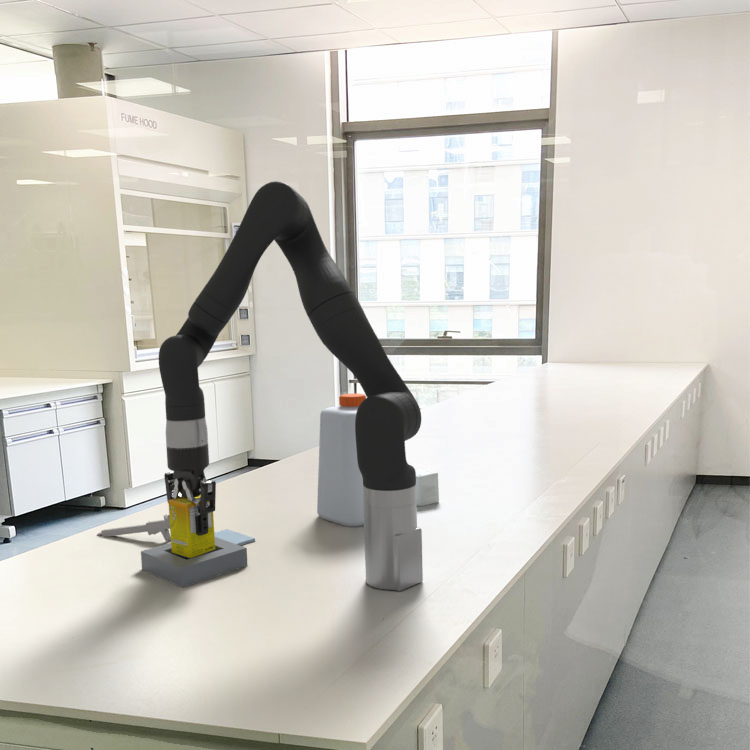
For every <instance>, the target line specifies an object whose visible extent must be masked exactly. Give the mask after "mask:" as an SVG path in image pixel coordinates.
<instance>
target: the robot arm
mask: <svg viewBox="0 0 750 750" xmlns="http://www.w3.org/2000/svg"><path fill="white" fill-rule="evenodd" d="M274 241H275V244H276V245H277V246H278V247H279V248H280V250H281V252H282V253H283V255H284V257H285V258H286V260H287V262H288V263H289V265H290V267H291V270H292V271H293V273H294V277H295V279H296V284H297V289H298V293H299V296H300V301H301V303H302V306H303V309H304V311H305V313H306V315H307V317H308V320H309V321H310V324H311V325H312V327H313V329H314V331H315V333H316V335H317V336H318V338H319V340H320V341H321V342H322V344H323V346H325V347H326V349H327V350H328V351H329V352H330V353H331V354H332V355H333V356H334V357H335V358H336V359H337V360H339V362H340V363H341V364H343V365H344V366H345V367H346V368H347V369H348V370H349V372H351V374H353V376H354V377H355V378H356V380H357V382H358V383H359V384H360V386H361V388H362V390H363V392H364V395H365V396H366V399H365V400H363V401H362V402H361V404H360V405H359V407H358V410H357V413H356V418H355V436H356V449H357V461H358V467H359V470H360V472H361V474H362V477H363V501H364V502H363V504H364V525H363V527H364V528H363V533H364V535H363V536H364V561H365V562H364V563H365V568H364V569H365V582H366V584H367V585H368V586H370V587H373V588H376V589H378V590H379V589H380V590H386V591H387V590H388V591H389V590H393V591H399V592H401V591H404V590H406V589H408V588H410V587H412V586H413V587H414V586H415V585H417V584H419V583H422V582H423V581H424V580H423V579H424V578H423V577H424V573H423V571H424V570H423V532H422V531H423V530H422V528H420V527H418V514H417V513H418V511H417V506H418V505H416V471H415V470H416V469H415V468H414V466H412V465H411V464H409V463H408V461H407V455H406V441H408V440H410V439H412V438H413V437H415V436H416V435H417V434H418V432H419V431H420V428H421V425H422V412H421V408H420V405H419V403H418V401H417V400H416V398H415V397H414V395H413V393H412V392H411V390H410V389H409V387H408V386H407V383H405V381H404V380H403V378H402V377H401V376H400V374H399V373H398V371H397V369H396V368H395V367H394V365H393V364H392V362H391V360H390V358H389V357H388V356H387V353H386V351H385V349H384V347H383V345H382V343H381V341H380V340H379V338H378V336H377V334H376V333H375V332H376V331H374V329H373V327H372V325H371V323H370V321H369V319H368V317H367V315H366V312H365V311H364V309H363V307H362V305H361V304H360V302H359V299H358V298H357V295H356V294H355V291H354V290H353V289H352V287H351V286H350V284H349V282H348V280H347V279H346V277H345V275H344V274H343V273H342V270H341V269H340V267H339V266H338V265H337V263H336V262H335V260H334V259H333V258H332V256H331V255H330V253H329V251H328V249H327V247H326V245H325V243H324V241H323V239H322V235H321V233H320V230H319V229H318V226H317V224H316V221H315V219H314V216H313V213H312V211H311V209H310V205H309V204H308V202H307V201H306V199H305V198H304V197H303V196H301V194H300V193H299V192H298V191H297V190H295V188H294V187H292V186H291V185H290V184H288V183H286V182H283V181H278V180H277V181H276V180H275V181H270V182H268V183H265V184H263V185H262V186H261V187H260V188H259V189H257V191H256V192H255V194H254V195H253V197H252V199H251V201H250V202H249V205H248V207H247V208H246V211H245V213H244V215H243V218H242V220H241V222H240V224H239V226H238V228H237V231H236V232H235V234H234V235H233V238H232V240H231V242H230V245H229V246H228V247H227V250H226V252H225V253H224V255H223V257H222V259H221V260H220V263H219V264H218V265H217V266H216V267H217V268H216V269H215V270H214V272H213V273H212V275H211V277H210V278H209V280H208V281H207V283H206V284H205V286H204V287H203V288H202V290H201V292H200V293H199V294H198V296H196V298H195V300H194V302H193V303H192V304H191V306H190V308H189V311H188V313H187V314H188V315H187V319H186V320H185V321H184V323H183V325H182V326H181V327H180V329H179V330H178V332H177V333H176V334H175V335H172V336H170V337H168V338H166V339H165V340H164V341H163V342H162V343H161V345H160V347H159V352H158V368H159V374H160V378H161V384H162V387H163V391H164V395H165V397H164V398H165V401H164V402H165V403H164V404H165V419H166V420H165V421H166V423H165V446H166V448H165V449H166V460H167V461H166V462H167V464H166V466H167V468H168V470H170V472H165V473H164V475H163V476H164V483H165V493H166V499H167V504H168V505H169V502H168V500H171V499H174V498H180V497H184V496H186V497H187V498H188V500H189V503H192V504H194V511H195V514H196V516H195V522H196V534H197V535H199V536H201V535H204V534H207V533H208V513H210V512H213V513H214V512H215V511H216V494H217V491H216V489H217V488H216V487H217V485H216V484H217V483H216V480H215V479H212V480H208V479H206V476H205V469H206V468H207V467H209V465H210V455H209V451H210V450H209V436H208V432H209V431H208V424H207V421H206V406H205V403H206V401H205V395H204V391H203V389H202V388H201V387H200V382H199V381H200V380H199V379H200V378H199V368H200V366H202V364H203V362H204V361H205V359H206V358H207V356H209V353H210V351H211V350H212V348H213V347H214V344H215V343H216V341H217V338H218V337H219V335H220V333H221V332H222V330H223V329H224V328H225V327H226V326H227V324H228V322H229V321H230V320H231V319H232V317H233V316H234V314H235V313H236V312H237V310H238V308H239V307H240V305H241V303H242V302H243V300H244V298H245V296H246V294H247V291H248V289H249V286H250V283H251V281H252V278H253V275H254V273H255V270H256V268H257V265H258V263H259V261H260V260H261V258H262V256H263V254H264V253H265V251H266V250H267V249H268V247H269V246H270V245H271V244H272V243H273V242H274ZM199 496H200V498H194V497H199ZM207 501H210V503H209V506H208V502H207ZM198 502H200V508H199V505H198Z"/></svg>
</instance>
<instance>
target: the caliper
mask: <svg viewBox="0 0 750 750" xmlns="http://www.w3.org/2000/svg"><path fill="white" fill-rule="evenodd" d="M146 532H147V534H148V535H149V536H151V535H156V534H159V533H161V535H162V537H163V539H164V540H165V542H167V543H166V544H168V543H171V533H170V518H169V514H167V513H166V514H164V515H163V519H160V520H152V521H148V522H146V523H145V524H136V525H129V526H123V527H114V528H107V529H103V530H101V531H100V532H98V533H97V534H96V535H97V536H102V537H115V536H116V537H117V536H123V535H130V534H140V533H146Z"/></svg>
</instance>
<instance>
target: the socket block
mask: <svg viewBox="0 0 750 750" xmlns="http://www.w3.org/2000/svg"><path fill="white" fill-rule="evenodd" d="M140 559H141V570H143V571H145V572H147V573H149V574H152V575H154V576H155V577H158V578H161V579H162V580H165V581H167V582H169V583H172V584H174V585H176V586H178V587H180V588H184V587H185V588H186V587H188V586H191V585H194V584H197V583H200V582H203V581H206V580H209V579H211V578H215V577H217V576H222V575H224V574H228V573H230V572H234V571H237V570H239V569H242V568H245V567H248V548H247V547H245V546H243V545H241V546H240V545H237V544H234V543H231V542H228V541H226V540H223V539H220V538H217V537H215V551H214V552H211V553H208V554H204V555H201V556H198V557H194V558H191V559H188V560H186V559H184V558H181V557H179V556H176V555H174V554H172V548H171V542H169V543H164V544H162V545H159V546H155V547H150V548H148V549H143V550H141V551H140Z"/></svg>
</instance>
